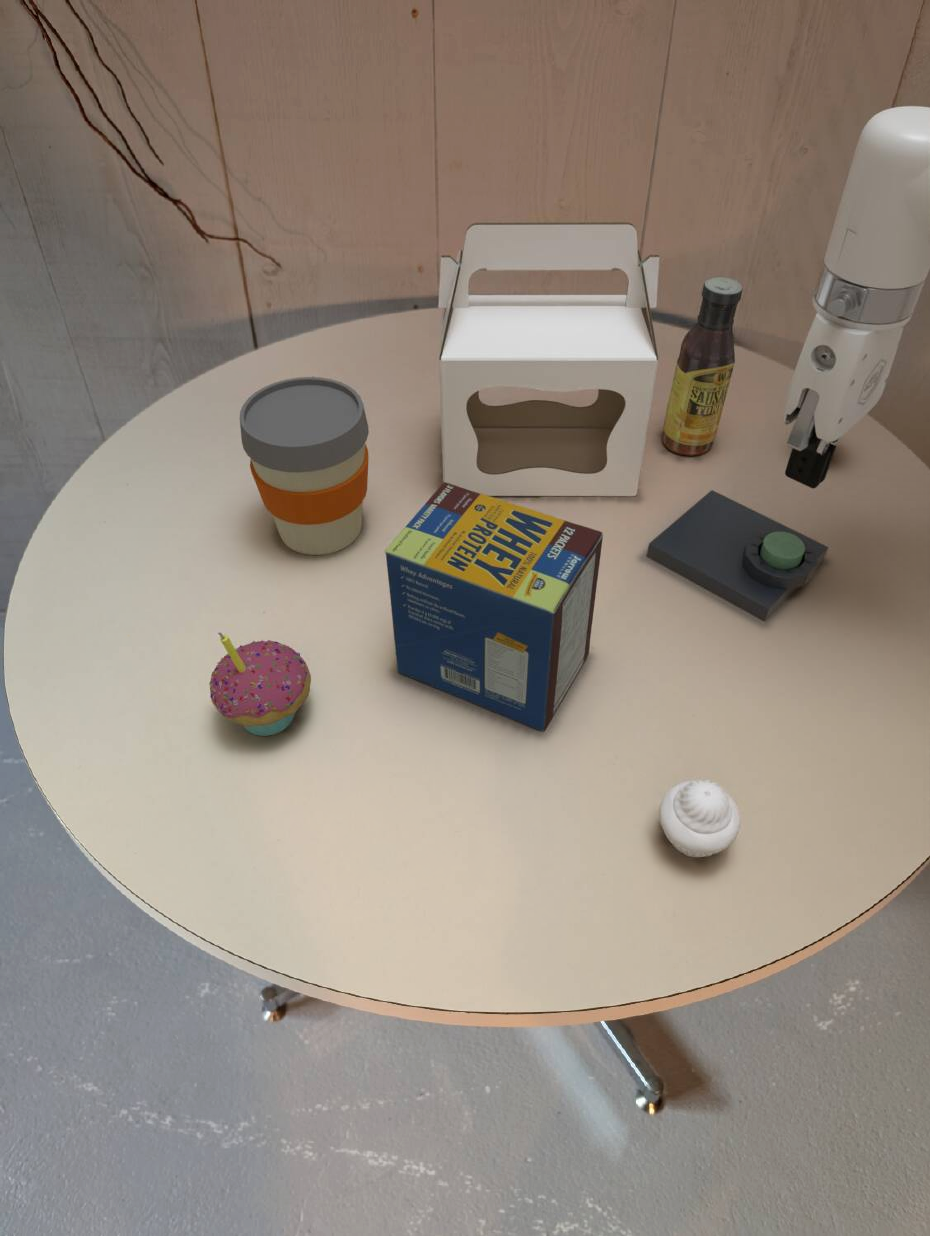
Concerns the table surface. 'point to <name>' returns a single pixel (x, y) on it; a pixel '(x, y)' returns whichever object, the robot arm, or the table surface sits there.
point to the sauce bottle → (703, 371)
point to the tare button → (782, 550)
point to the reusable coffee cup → (309, 460)
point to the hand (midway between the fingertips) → (803, 478)
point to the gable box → (547, 364)
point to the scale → (733, 554)
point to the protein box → (493, 602)
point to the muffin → (699, 818)
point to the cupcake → (260, 685)
